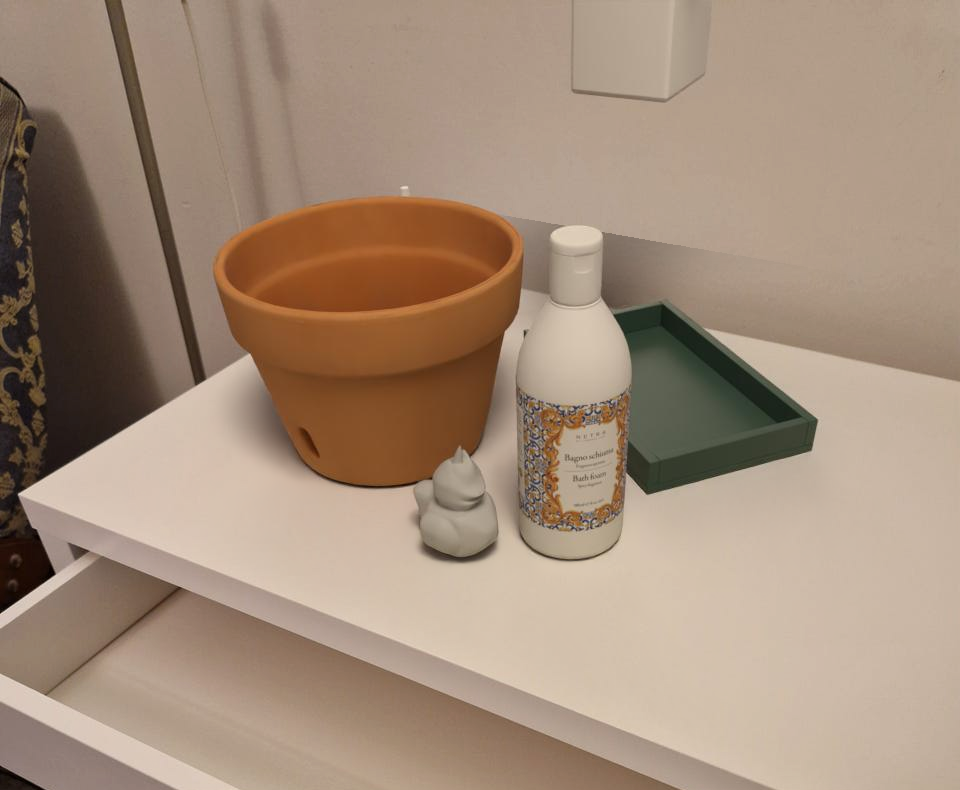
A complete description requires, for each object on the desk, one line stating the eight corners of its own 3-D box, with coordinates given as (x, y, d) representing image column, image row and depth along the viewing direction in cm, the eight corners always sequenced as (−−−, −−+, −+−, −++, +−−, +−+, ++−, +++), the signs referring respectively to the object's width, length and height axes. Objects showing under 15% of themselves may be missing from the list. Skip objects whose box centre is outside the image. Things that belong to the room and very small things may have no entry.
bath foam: (535, 571, 65) (531, 267, 51) (508, 511, 70) (498, 220, 56) (636, 552, 66) (659, 249, 52) (603, 494, 71) (616, 204, 57)
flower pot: (371, 349, 89) (349, 174, 79) (577, 410, 80) (581, 220, 70) (198, 463, 76) (145, 272, 66) (417, 550, 67) (395, 344, 57)
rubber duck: (467, 582, 64) (459, 477, 59) (393, 544, 68) (380, 442, 62) (520, 541, 67) (517, 437, 62) (447, 507, 71) (438, 406, 65)
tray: (664, 326, 90) (666, 298, 88) (812, 450, 74) (818, 419, 72) (523, 358, 86) (523, 329, 85) (647, 494, 71) (649, 463, 69)
